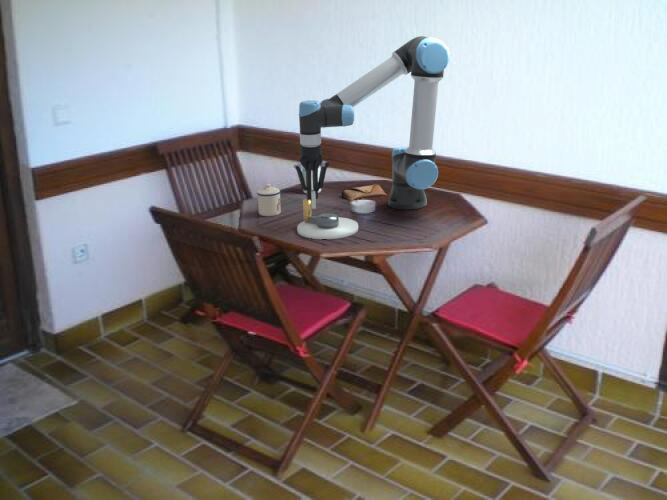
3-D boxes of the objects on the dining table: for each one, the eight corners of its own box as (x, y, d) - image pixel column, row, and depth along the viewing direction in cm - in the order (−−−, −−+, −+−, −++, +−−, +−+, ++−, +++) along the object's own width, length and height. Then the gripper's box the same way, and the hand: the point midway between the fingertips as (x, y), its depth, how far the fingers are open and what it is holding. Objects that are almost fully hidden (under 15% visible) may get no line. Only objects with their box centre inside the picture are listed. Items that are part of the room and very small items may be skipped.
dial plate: (362, 221, 290) (362, 216, 289) (353, 240, 269) (353, 235, 269) (304, 220, 294) (304, 216, 293) (291, 238, 273) (291, 234, 273)
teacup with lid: (283, 215, 301) (281, 186, 297) (259, 217, 299) (257, 188, 295) (279, 207, 312) (277, 178, 308) (256, 209, 310) (254, 180, 306)
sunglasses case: (350, 201, 316) (346, 185, 317) (344, 206, 322) (340, 191, 323) (389, 194, 323) (384, 179, 324) (382, 199, 330) (377, 185, 331)
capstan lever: (343, 223, 282) (342, 201, 279) (330, 229, 275) (329, 207, 273) (311, 217, 290) (310, 196, 287) (298, 223, 284) (296, 202, 281)
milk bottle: (324, 190, 334) (322, 144, 328) (316, 194, 328) (314, 147, 321) (308, 189, 337) (306, 143, 331) (300, 193, 331) (297, 146, 324)
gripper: (324, 140, 284) (326, 202, 292) (290, 144, 280) (292, 207, 288) (331, 145, 278) (332, 208, 286) (296, 148, 274) (299, 212, 282)
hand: (312, 207), depth 287 cm, fingers closed
